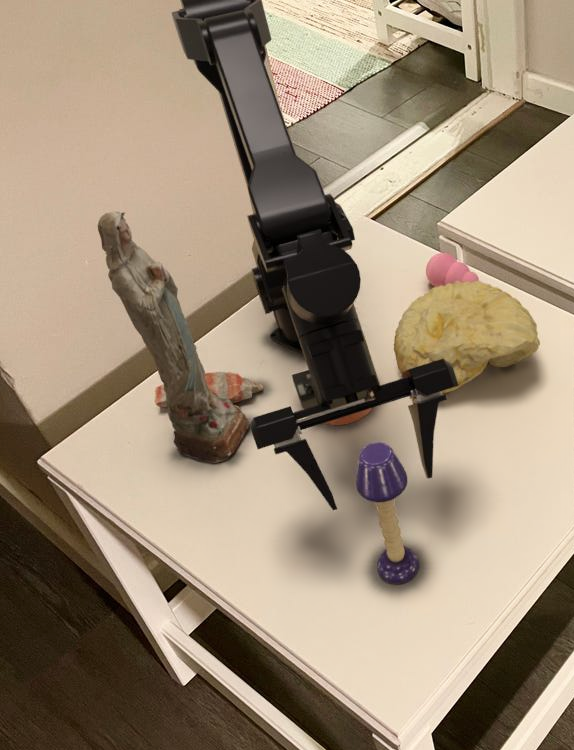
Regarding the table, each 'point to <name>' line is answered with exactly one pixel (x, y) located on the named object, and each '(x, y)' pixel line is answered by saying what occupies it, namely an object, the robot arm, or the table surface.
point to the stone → (221, 387)
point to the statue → (170, 347)
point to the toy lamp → (386, 508)
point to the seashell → (465, 330)
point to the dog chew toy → (448, 270)
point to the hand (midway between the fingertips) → (382, 493)
